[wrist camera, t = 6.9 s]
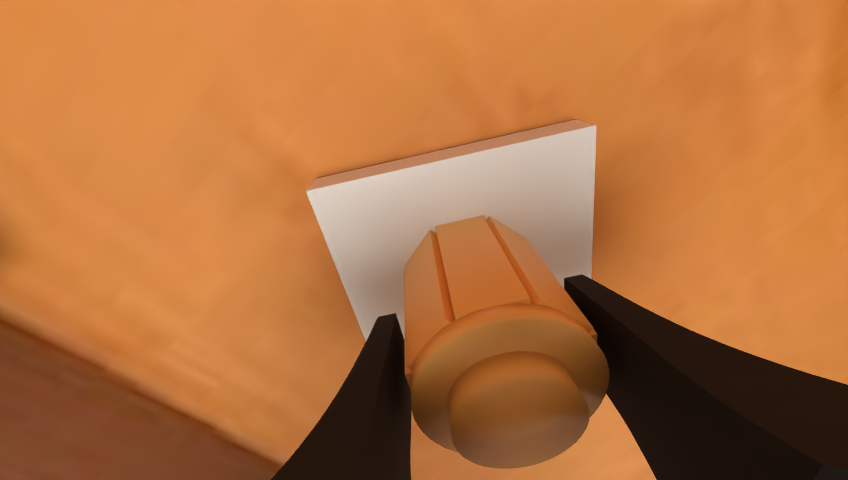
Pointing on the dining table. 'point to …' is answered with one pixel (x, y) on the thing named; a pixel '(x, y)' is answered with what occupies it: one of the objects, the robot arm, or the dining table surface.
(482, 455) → the ribbed domed knob
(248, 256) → the dining table surface
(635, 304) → the robot arm
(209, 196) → the dining table surface
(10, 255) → the dining table surface
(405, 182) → the white base
